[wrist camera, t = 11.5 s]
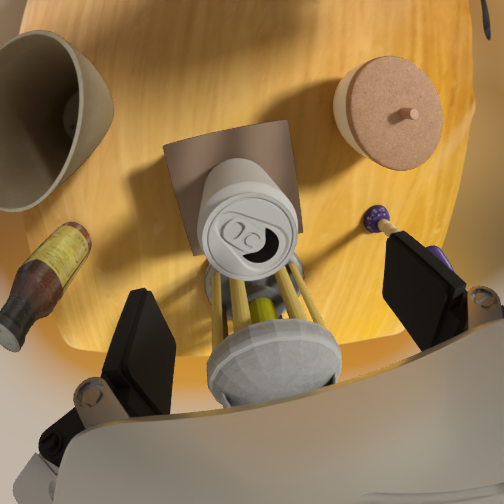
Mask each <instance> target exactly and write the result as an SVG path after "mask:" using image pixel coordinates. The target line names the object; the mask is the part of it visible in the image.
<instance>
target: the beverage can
mask: <svg viewBox="0 0 504 504" xmlns="http://www.w3.org/2000/svg"><path fill="white" fill-rule="evenodd" d="M297 233H298V219H297V215H296V212H295V209H294V207H293V205H292V204H291V202H290V201H289V199H288V198H287V197H286V196H285V194H284V193H283V192H282V191H281V190H280V188H279V187H278V186H277V185H276V184H275V182H274V181H273V180H272V179H271V178H270V177H269V175H268V174H267V173H266V172H265V171H264V170H263V169H262V168H261V167H260V166H259V165H258V164H256V163H254V162H252V161H250V160H247V159H241V158H235V159H229V160H226V161H224V162H222V163H220V164H218V165H217V166H216V167H214V168H213V170H212V171H211V172H210V173H209V175H208V177H207V179H206V181H205V185H204V190H203V195H202V201H201V206H200V212H199V218H198V224H197V237H198V242H199V245H200V248H201V250H202V252H203V253H204V255H205V256H206V258H207V259H208V261H209V262H210V264H211V265H212V266H213V267H214V268H215V269H216V270H217V271H219V272H220V273H221V274H223V275H225V276H227V277H229V278H232V279H236V280H242V281H253V280H259V279H263V278H265V277H268V276H270V275H272V274H274V273H276V272H277V271H279V270H280V269H281V268H282V267H283V266H284V265H285V264H286V263H287V262H288V261H289V259H290V258H291V256H292V255H293V253H294V250H295V247H296V244H297V236H298V235H297Z"/></svg>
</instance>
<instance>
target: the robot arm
mask: <svg viewBox="0 0 504 504" xmlns="http://www.w3.org/2000/svg"><path fill="white" fill-rule="evenodd" d="M465 287H466V283H465V282H464V281H463V280H462V279H461V278H460V277H459V276H458V275H456V274H455V273H454V272H453V271H452V270H451V269H450V268H449V267H448V266H446V265H445V264H444V263H443V262H442V261H441V260H439V259H438V258H437V257H436V256H435V255H434V254H432V253H431V252H430V251H429V250H428V249H426V248H425V247H424V246H423V245H421V244H420V243H419V242H418V241H417V240H415V239H414V238H413V237H412V236H410V235H409V234H408V233H406V232H405V231H399V232H395V233H391V234H390V236H389V238H387V241H386V256H385V269H384V280H383V290H382V294H383V298H384V300H385V301H386V303H387V304H388V305H389V307H390V308H391V309H392V311H393V312H394V313H395V315H396V316H397V317H398V319H399V320H400V322H401V323H402V324H403V326H404V327H405V328H406V330H407V331H408V333H409V334H410V335H411V337H412V338H413V340H414V341H415V342H416V344H417V345H418V347H419V348H420V350H421V351H422V352H420V353H418V354H416V355H414V356H411V357H409V358H406V359H404V360H402V361H399V362H396V363H394V364H391V365H389V366H386V367H383V368H381V369H378V370H375V371H372V372H369V373H367V374H364V375H361V376H358V377H355V378H352V379H349V380H345V381H342V382H339V383H336V384H332V385H329V386H325V387H322V388H318V389H315V390H311V391H307V392H303V393H299V394H295V395H291V396H287V397H282V398H278V399H273V400H268V401H263V402H258V403H253V404H247V405H242V406H236V407H229V408H223V409H215V410H207V411H199V412H190V413H181V414H170V407H171V396H172V384H173V374H174V363H175V355H176V342H175V339H174V337H173V335H172V333H171V331H170V329H169V327H168V325H167V323H166V321H165V319H164V317H163V315H162V313H161V311H160V309H159V307H158V305H157V302H156V300H155V298H154V296H153V294H152V292H151V291H147V290H146V289H145V288H141V289H136V290H132V291H130V293H129V295H128V298H127V301H126V303H125V306H124V308H123V311H122V313H121V316H120V319H119V321H118V324H117V327H116V330H115V333H114V335H113V338H112V341H111V344H110V347H109V350H108V353H107V356H106V359H105V362H104V365H103V368H102V374H101V377H92V378H88V379H87V380H84V381H83V382H82V383H81V384H80V385H79V386H78V387H77V389H76V390H75V393H74V398H73V401H74V405H75V407H74V408H73V409H72V410H71V411H69V412H68V413H67V414H66V415H64V416H63V417H62V418H61V419H59V420H58V421H57V422H56V423H54V424H53V425H52V426H50V427H49V428H48V429H46V430H45V431H44V432H43V433H42V435H41V437H40V440H39V451H40V453H39V455H38V454H37V453H35V454H34V455H33V456H32V458H31V459H30V461H29V462H28V463H27V465H26V466H25V468H24V469H23V470H22V472H21V473H20V475H19V476H18V478H17V479H16V480H15V482H14V485H13V494H14V497H15V499H16V501H17V502H18V504H504V306H503V305H501V302H500V298H499V296H498V295H497V293H496V292H494V291H493V290H492V289H490V288H488V287H485V286H474V287H472V288H470V290H469V291H468V292H467V291H466V290H465Z"/></svg>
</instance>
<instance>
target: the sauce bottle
mask: <svg viewBox="0 0 504 504" xmlns="http://www.w3.org/2000/svg"><path fill="white" fill-rule="evenodd" d="M91 246H92V244H91V239H90V237H89V234H88V232H87V231H86V229H85V228H84V227H83V226H81V225H80V224H77V223H75V222H68V223H65V224H63V225H62V226H61V227H58V228H57V229H56V230H55V231H54V232H53V233H52V234H51V235H50V236H49V237H48V238H47V239H46V240H45V241H44V242H43V243H42V244H41V245H40V246H39V247H38V248H37V249H36V250H35V251H34V252H33V253H32V255H31V256H30V257H29V258H28V259H27V260H26V261H25V263H24V264H23V265H22V266H21V267H20V268H19V269H18V271H17V274H16V277H15V280H14V282H13V286H12V289H11V292H10V296H9V298H8V300H7V302H6V304H5V305H4V306H3V308H2V309H1V311H0V344H1V345H2V346H3V347H4V348H6V349H7V350H9V351H12V352H19V350H20V349H21V347H22V346H23V344H24V342H25V336H26V334H27V333H28V331H29V329H30V327H31V326H32V325H33V324H34V322H35V321H36V320H38V319H39V318H43V317H46V316H48V315H49V314H50V313H51V312H52V310H53V309H54V307H55V305H56V304H57V302H58V300H60V299H61V297H62V296H63V294H64V292H65V291H66V289H67V288H68V286H69V285H70V283H71V281H72V280H73V278H74V277H75V275H76V274H77V272H78V271H79V269H80V268H81V266H82V265H83V263H84V262H85V261H86V259H87V257H88V254H89V253H90V250H91Z"/></svg>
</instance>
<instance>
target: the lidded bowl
mask: <svg viewBox="0 0 504 504" xmlns="http://www.w3.org/2000/svg"><path fill="white" fill-rule="evenodd" d="M333 113H334V118H335V122H336V124H337V127H338V129H339V131H340V133H341V135H342V136H343V138H344V139H345V141H346V142H347V143H348V144H349V145H350V146H351V147H352V148H353V149H355V150H356V151H357V152H358V153H360V154H361V155H363V156H364V157H366V158H368V159H370V160H372V161H374V162H376V163H377V164H379V165H381V166H383V167H386V168H389V169H392V170H397V171H406V170H411V169H414V168H416V167H418V166H420V165H421V164H423V163H424V162H425V161H426V160H428V159H429V158H430V156H431V155H432V154H433V153H434V151H435V149H436V147H437V145H438V143H439V140H440V137H441V133H442V127H443V113H442V106H441V102H440V99H439V96H438V93H437V91H436V89H435V87H434V85H433V83H432V82H431V80H430V79H429V77H428V76H427V75H426V74H425V73H424V72H423V71H422V70H421V69H420V68H419V67H418V66H416V65H415V64H413V63H412V62H410V61H408V60H406V59H403V58H400V57H396V56H384V57H378V58H375V59H372V60H370V61H368V62H365V63H363V64H360V65H358V66H357V67H355V68H353V69H352V70H350V71H349V72H348V73H347V74H346V75H345V76H344V77H343V78H342V79H341V81H340V82H339V84H338V86H337V88H336V91H335V95H334V99H333Z"/></svg>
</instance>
